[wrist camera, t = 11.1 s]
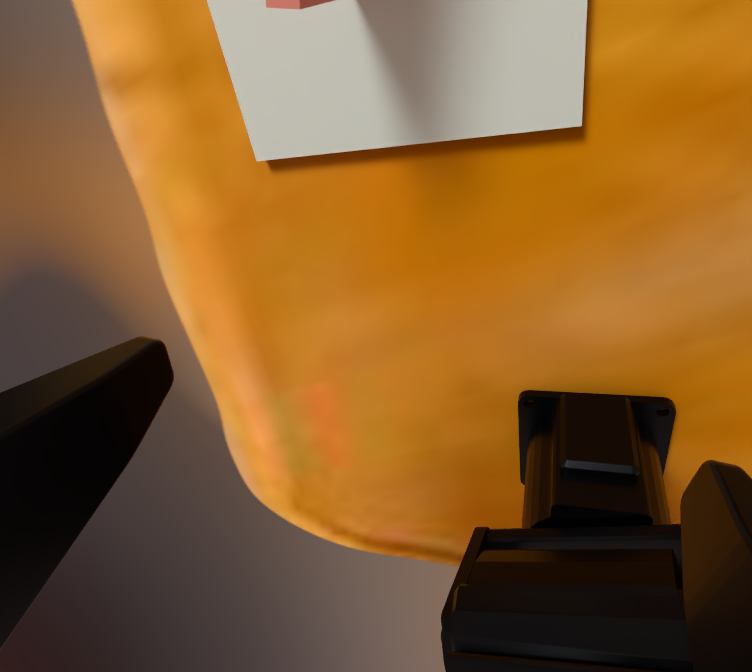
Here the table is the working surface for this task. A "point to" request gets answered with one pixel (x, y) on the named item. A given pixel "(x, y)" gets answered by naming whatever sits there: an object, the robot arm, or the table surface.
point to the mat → (401, 71)
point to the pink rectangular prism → (294, 3)
